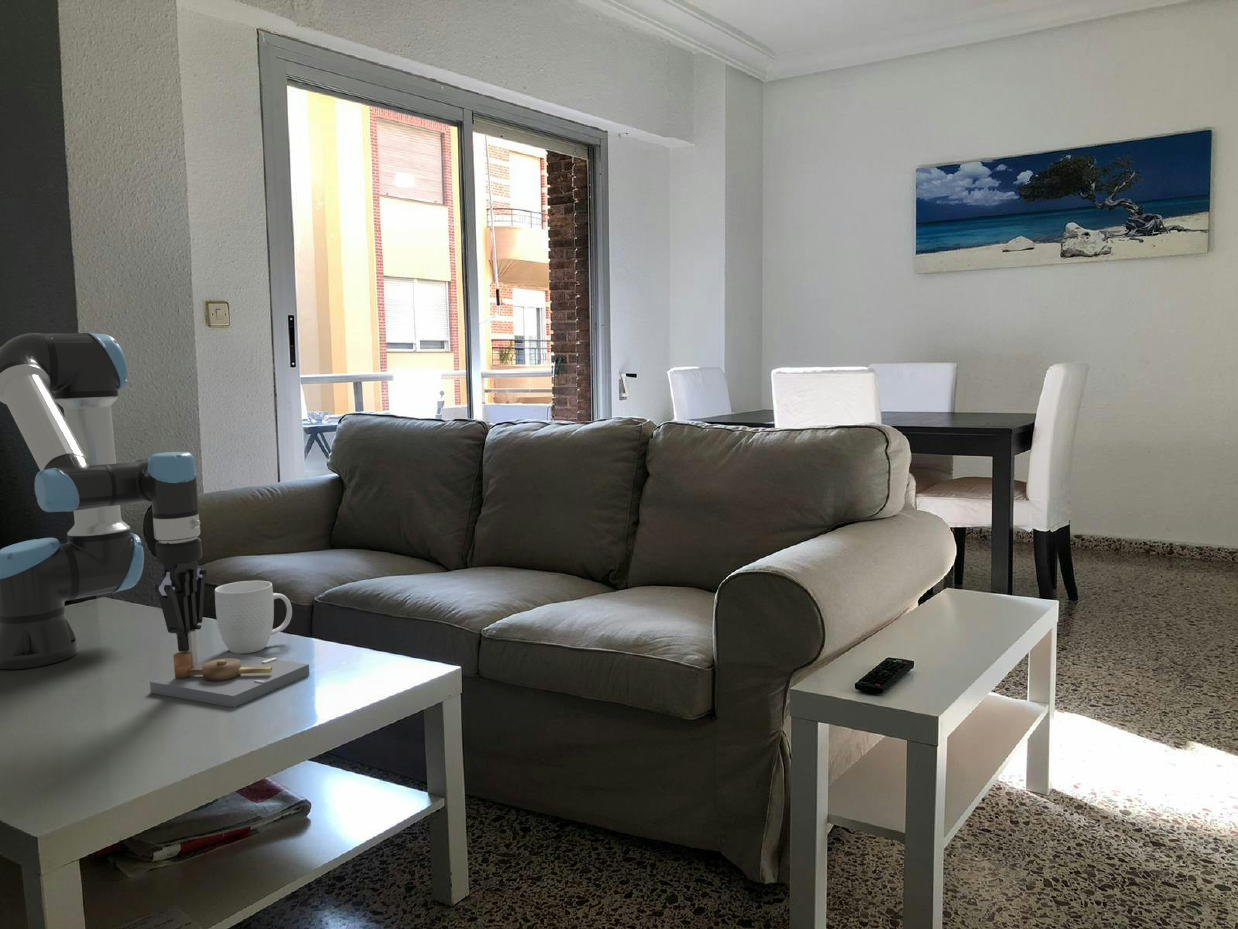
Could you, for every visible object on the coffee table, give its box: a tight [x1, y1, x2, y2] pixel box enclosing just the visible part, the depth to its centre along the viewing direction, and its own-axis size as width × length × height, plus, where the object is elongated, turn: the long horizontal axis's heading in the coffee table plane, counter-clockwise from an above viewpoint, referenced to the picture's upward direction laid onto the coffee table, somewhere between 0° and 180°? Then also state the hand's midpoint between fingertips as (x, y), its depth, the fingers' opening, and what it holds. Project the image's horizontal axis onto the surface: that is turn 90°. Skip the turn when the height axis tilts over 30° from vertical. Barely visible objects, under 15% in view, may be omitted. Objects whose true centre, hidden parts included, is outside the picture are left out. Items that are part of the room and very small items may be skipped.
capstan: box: [172, 651, 272, 681], centre depth 173 cm, size 17×6×4 cm, turn 90°
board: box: [149, 652, 310, 708], centre depth 175 cm, size 20×18×2 cm
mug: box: [214, 580, 293, 655], centre depth 196 cm, size 15×11×13 cm
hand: (189, 666), depth 175 cm, fingers closed
